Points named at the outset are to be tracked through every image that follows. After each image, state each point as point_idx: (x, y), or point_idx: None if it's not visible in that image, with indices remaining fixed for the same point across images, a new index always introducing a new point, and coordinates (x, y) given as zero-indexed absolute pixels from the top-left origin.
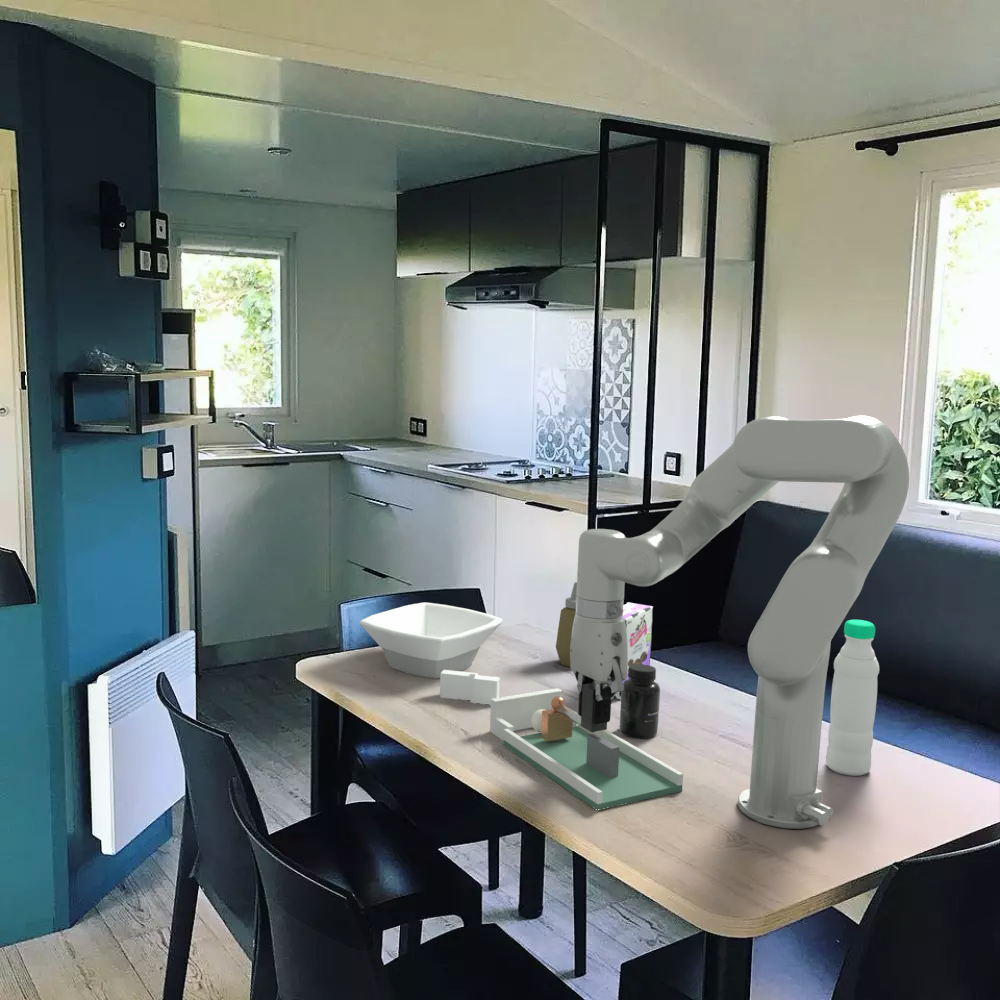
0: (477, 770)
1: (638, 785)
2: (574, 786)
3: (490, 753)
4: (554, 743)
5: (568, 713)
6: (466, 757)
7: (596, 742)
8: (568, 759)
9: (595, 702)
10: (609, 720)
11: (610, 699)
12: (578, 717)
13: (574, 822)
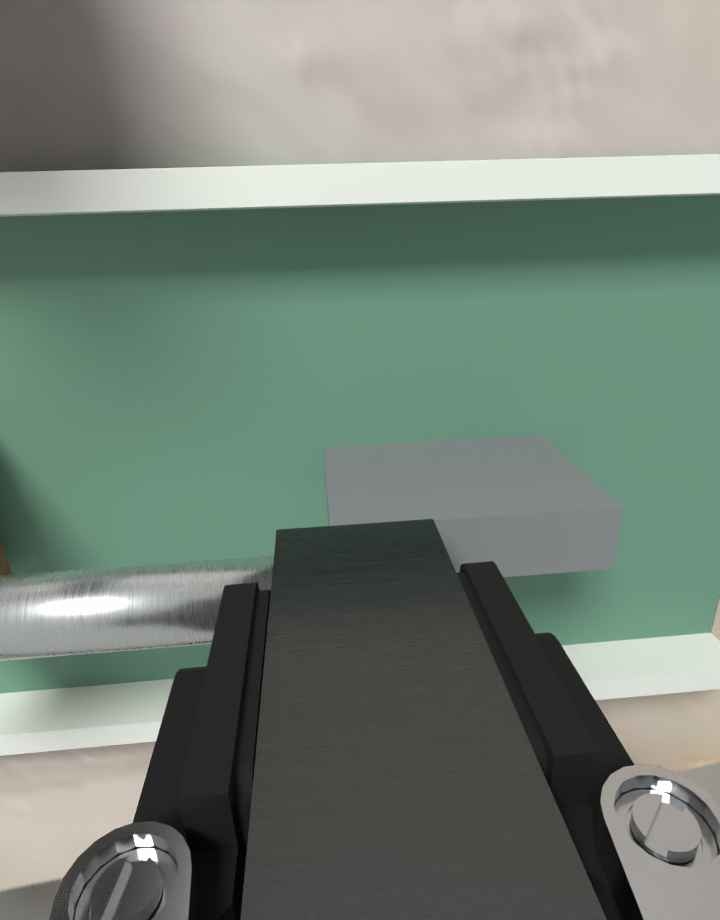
0: None
1: (680, 399)
2: None
3: (12, 768)
4: (7, 523)
5: (29, 657)
6: (36, 847)
7: None
8: (250, 555)
9: None
10: (491, 564)
11: (584, 737)
12: (171, 646)
13: (704, 727)
